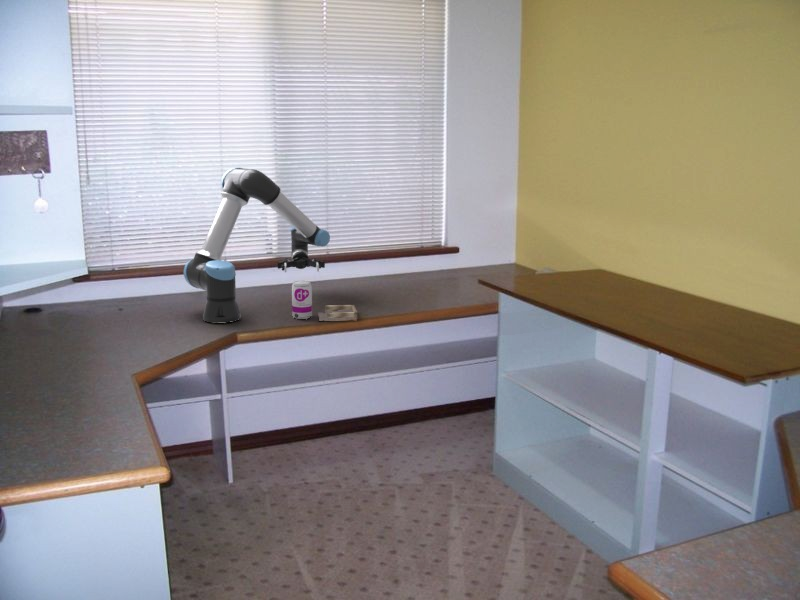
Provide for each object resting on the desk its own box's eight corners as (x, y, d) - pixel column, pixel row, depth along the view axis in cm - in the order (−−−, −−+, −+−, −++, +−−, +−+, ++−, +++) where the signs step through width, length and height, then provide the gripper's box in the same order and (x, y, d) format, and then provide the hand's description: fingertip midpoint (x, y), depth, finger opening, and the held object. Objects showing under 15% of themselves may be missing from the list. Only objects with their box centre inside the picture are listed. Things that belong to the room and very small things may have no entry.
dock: (318, 322, 307) (318, 313, 306) (317, 312, 321) (317, 305, 320) (358, 321, 309) (358, 313, 308) (354, 312, 324) (354, 304, 323)
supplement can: (310, 320, 309) (310, 284, 305) (290, 320, 309) (290, 284, 306) (313, 315, 317) (313, 280, 313) (293, 315, 317) (293, 280, 313)
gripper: (328, 266, 341) (331, 276, 321) (272, 268, 338) (272, 278, 317) (328, 250, 340) (331, 259, 319) (272, 251, 336) (271, 260, 315)
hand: (301, 268), depth 318 cm, fingers open, 13 cm apart
